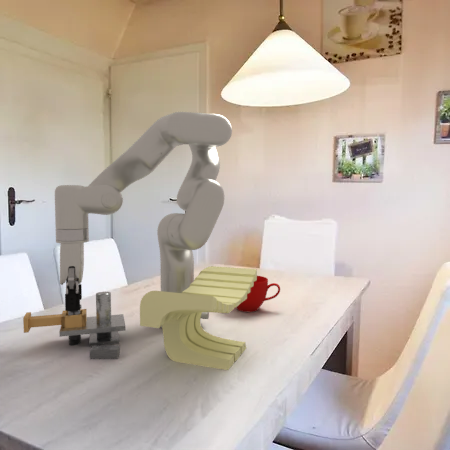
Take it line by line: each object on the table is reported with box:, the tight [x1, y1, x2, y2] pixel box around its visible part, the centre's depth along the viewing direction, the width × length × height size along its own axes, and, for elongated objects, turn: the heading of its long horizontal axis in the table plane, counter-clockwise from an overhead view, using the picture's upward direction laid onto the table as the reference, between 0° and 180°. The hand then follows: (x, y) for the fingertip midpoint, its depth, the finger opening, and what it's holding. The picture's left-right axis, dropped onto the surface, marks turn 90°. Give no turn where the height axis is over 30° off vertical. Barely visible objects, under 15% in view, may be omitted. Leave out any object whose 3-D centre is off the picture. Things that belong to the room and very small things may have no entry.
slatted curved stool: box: [139, 265, 258, 371], centre depth 92 cm, size 30×16×18 cm, turn 160°
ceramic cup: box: [236, 275, 281, 313], centre depth 129 cm, size 13×17×10 cm
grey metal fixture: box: [58, 291, 126, 347], centre depth 100 cm, size 15×10×12 cm, turn 108°
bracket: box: [22, 308, 88, 334], centre depth 97 cm, size 14×6×4 cm, turn 108°
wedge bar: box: [89, 344, 121, 360], centre depth 90 cm, size 6×3×2 cm, turn 92°
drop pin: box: [68, 303, 82, 346], centre depth 99 cm, size 3×3×9 cm
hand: (74, 304), depth 98 cm, fingers open, 9 cm apart
